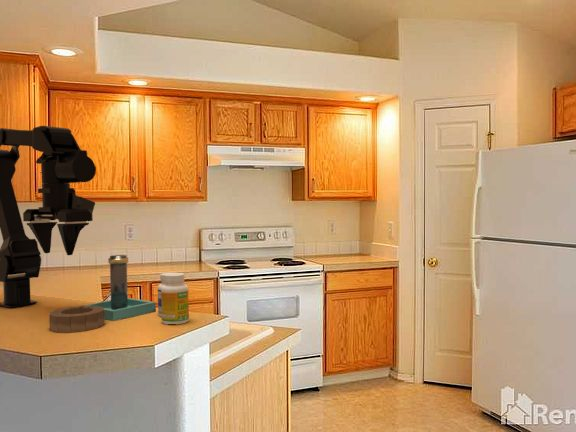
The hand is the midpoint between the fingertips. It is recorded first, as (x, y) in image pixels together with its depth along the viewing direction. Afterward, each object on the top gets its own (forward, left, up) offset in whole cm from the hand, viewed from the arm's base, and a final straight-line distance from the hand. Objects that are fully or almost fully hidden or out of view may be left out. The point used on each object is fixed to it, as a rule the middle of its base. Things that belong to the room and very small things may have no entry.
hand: (58, 254), depth 116 cm
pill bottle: (+23, +12, -13) cm, 29 cm away
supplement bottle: (+29, +8, -13) cm, 33 cm away
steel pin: (+12, +7, -12) cm, 19 cm away
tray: (+12, +7, -13) cm, 19 cm away
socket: (+15, -5, -13) cm, 20 cm away
